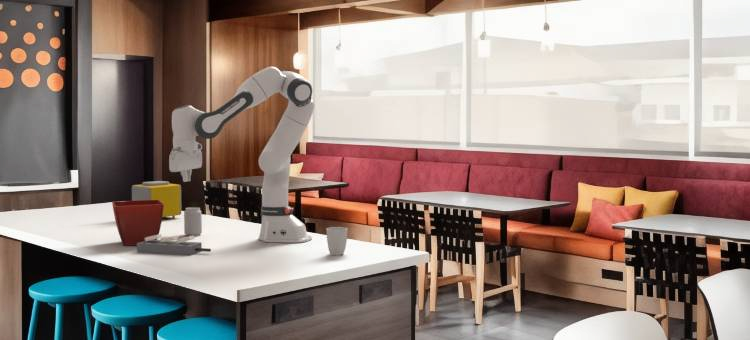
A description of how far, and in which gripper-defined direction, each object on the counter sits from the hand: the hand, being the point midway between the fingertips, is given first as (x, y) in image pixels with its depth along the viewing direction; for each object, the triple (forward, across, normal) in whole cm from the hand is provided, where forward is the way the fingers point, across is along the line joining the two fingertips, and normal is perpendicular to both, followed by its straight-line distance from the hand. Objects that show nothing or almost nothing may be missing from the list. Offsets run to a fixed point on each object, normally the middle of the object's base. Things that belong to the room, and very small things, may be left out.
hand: (186, 181), depth 341 cm
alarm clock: (+25, +72, +58) cm, 96 cm away
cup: (+30, +3, -61) cm, 68 cm away
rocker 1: (+21, -11, +10) cm, 26 cm away
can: (+27, +30, +15) cm, 43 cm away
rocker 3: (+21, -11, -4) cm, 24 cm away
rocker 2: (+21, -11, +3) cm, 24 cm away
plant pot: (+26, +4, +26) cm, 37 cm away
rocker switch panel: (+26, -11, 0) cm, 29 cm away
